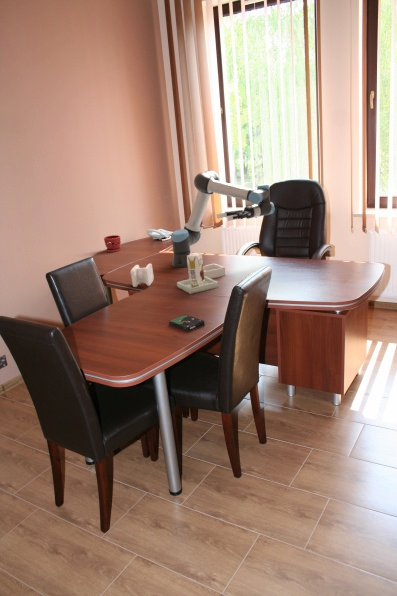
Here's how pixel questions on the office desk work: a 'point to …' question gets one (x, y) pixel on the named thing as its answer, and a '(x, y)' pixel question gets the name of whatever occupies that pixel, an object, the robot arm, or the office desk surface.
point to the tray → (207, 285)
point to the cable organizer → (142, 275)
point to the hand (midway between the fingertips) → (222, 217)
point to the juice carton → (195, 269)
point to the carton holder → (213, 271)
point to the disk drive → (186, 322)
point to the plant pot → (112, 243)
